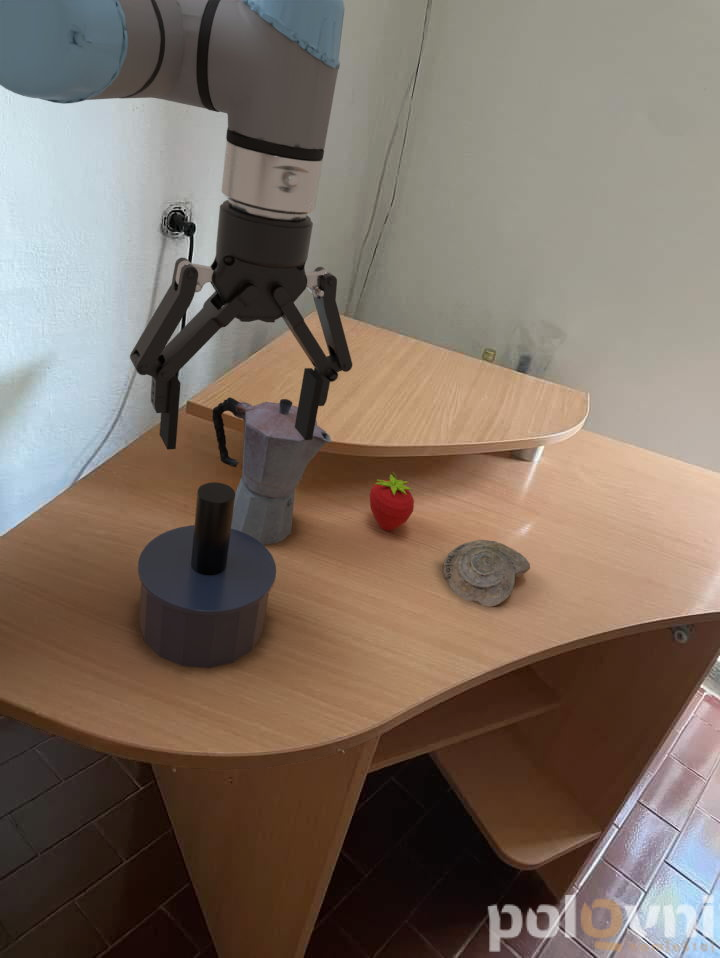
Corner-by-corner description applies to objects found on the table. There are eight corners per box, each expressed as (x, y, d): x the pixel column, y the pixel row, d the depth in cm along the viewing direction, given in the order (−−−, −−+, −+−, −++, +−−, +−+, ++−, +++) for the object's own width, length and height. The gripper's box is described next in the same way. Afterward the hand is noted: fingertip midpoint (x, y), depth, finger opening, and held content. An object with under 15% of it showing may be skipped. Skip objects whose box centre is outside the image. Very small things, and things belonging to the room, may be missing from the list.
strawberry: (376, 549, 96) (391, 489, 91) (354, 518, 101) (368, 459, 96) (413, 545, 98) (430, 486, 93) (390, 514, 104) (405, 457, 99)
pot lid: (155, 632, 64) (161, 544, 59) (124, 542, 74) (127, 460, 69) (294, 606, 71) (310, 525, 66) (249, 526, 81) (259, 451, 76)
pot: (156, 686, 69) (160, 623, 65) (128, 600, 78) (130, 539, 74) (278, 658, 75) (289, 599, 71) (239, 582, 84) (246, 525, 80)
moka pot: (302, 565, 90) (329, 429, 79) (187, 536, 90) (199, 396, 80) (317, 525, 98) (343, 397, 88) (212, 498, 98) (226, 368, 88)
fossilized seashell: (430, 550, 95) (462, 517, 91) (484, 565, 101) (516, 535, 97) (456, 615, 88) (492, 581, 84) (513, 627, 93) (549, 596, 90)
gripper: (116, 202, 47) (110, 468, 58) (420, 233, 59) (369, 448, 70) (95, 177, 52) (94, 425, 63) (378, 210, 65) (336, 413, 75)
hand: (238, 437), depth 67 cm, fingers open, 13 cm apart
